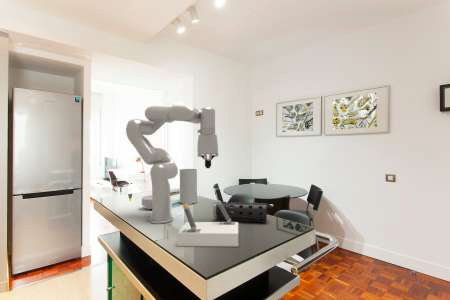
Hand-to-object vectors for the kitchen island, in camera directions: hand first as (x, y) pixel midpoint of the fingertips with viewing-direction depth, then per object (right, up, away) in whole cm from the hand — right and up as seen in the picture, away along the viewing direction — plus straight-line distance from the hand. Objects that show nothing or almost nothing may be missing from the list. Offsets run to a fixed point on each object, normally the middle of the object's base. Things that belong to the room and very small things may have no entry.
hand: (208, 168), depth 124 cm
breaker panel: (+2, -29, -20) cm, 35 cm away
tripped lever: (-4, -22, -25) cm, 34 cm away
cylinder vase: (-18, -30, +57) cm, 67 cm away
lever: (+10, -23, -15) cm, 29 cm away
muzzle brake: (+17, -29, +7) cm, 35 cm away
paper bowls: (-39, -30, +40) cm, 64 cm away
